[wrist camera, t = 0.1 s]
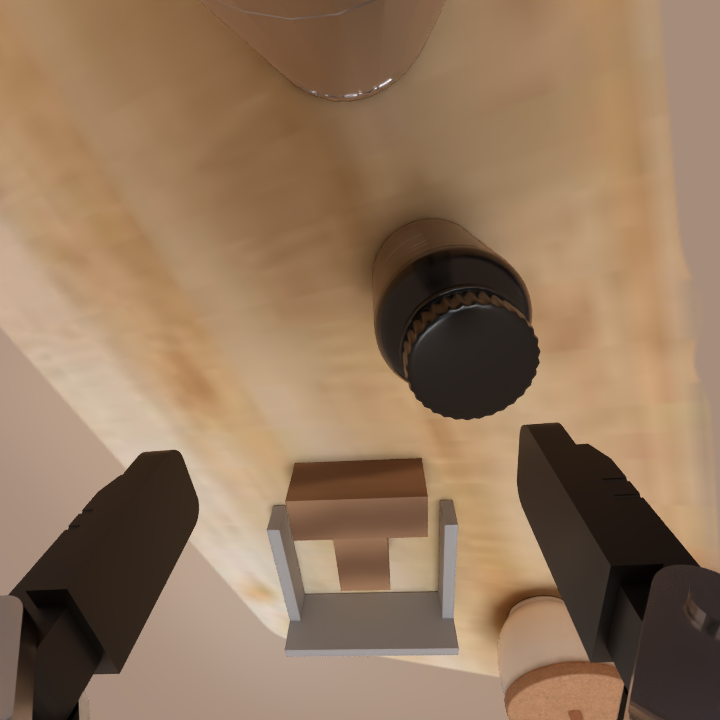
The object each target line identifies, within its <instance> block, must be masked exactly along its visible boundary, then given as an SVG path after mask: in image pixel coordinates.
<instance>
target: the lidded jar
mask: <svg viewBox="0 0 720 720" xmlns="http://www.w3.org/2000/svg"><path fill="white" fill-rule="evenodd" d="M498 666H499V674H500V679H501V684H502V689H503V693H504V697H505V698H504V701H505V707H506V712H507V716H508V718H509V719H510V720H616V716H617V711H618V706H619V701H620V696H621V692H622V688H623V684H624V683H623V681H622V678H621V676H620V674H619V672H618V670H617V668H616V666H615V664H614V662H601V663H591V662H590V660H589V658H588V656H587V653H586V651H585V649H584V647H583V644H582V642H581V640H580V637H579V635H578V633H577V631H576V628H575V626H574V624H573V622H572V619H571V617H570V615H569V612H568V610H567V608H566V606H565V603H564V601H563V600H562V599H560V598H557V597H552V596H537V597H531V598H528V599H525V600H523V601H521V602H519V603H517V604H516V605H515V606H514V607H513V608H512V609H511V610H510V612H509V614H508V618H507V620H506V621H505V623H504V625H503V627H502V629H501V632H500V636H499V641H498Z"/></svg>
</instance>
